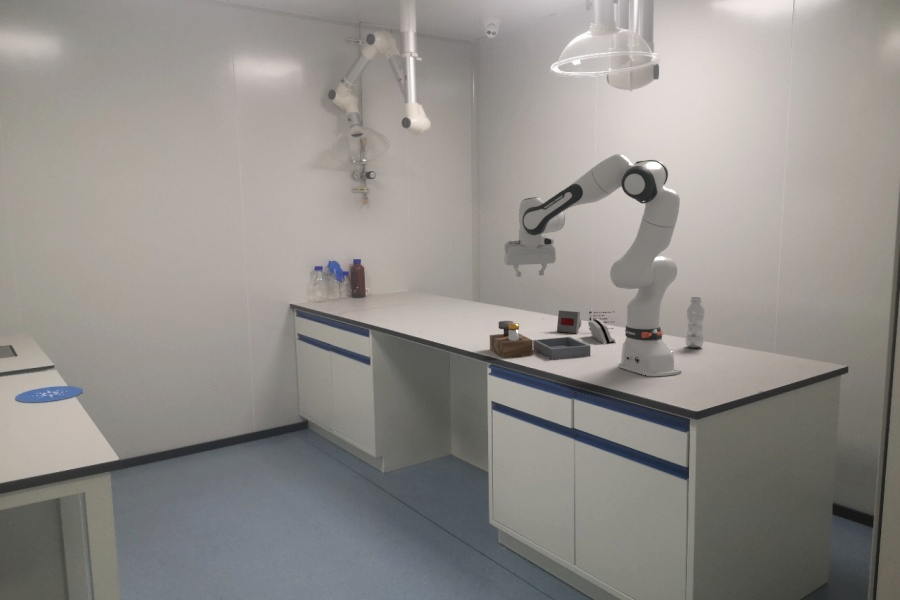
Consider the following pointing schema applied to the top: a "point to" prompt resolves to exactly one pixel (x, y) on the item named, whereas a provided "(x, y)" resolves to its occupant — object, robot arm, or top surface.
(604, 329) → the black-striped white block
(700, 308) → the plastic bottle
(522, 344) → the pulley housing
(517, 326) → the gold-capped glass vial
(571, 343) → the tray
